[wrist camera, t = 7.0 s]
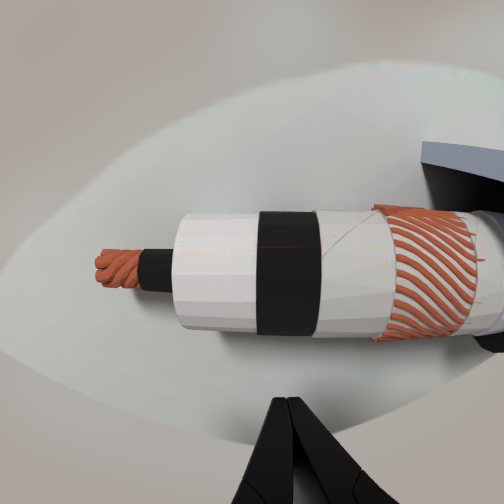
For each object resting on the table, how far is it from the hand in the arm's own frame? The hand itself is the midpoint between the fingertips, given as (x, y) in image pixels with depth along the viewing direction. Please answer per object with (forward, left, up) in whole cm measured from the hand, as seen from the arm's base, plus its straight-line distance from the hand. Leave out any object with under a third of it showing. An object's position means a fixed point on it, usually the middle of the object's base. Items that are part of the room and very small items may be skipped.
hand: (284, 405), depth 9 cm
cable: (-8, -1, -12) cm, 14 cm away
